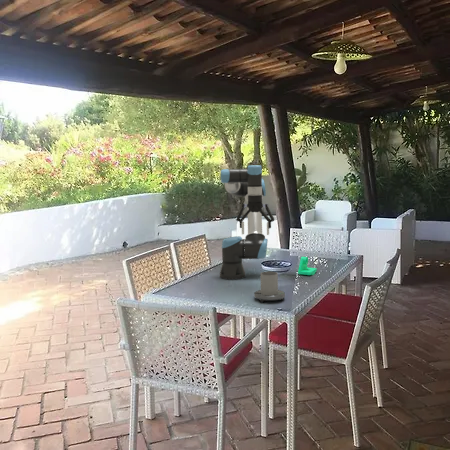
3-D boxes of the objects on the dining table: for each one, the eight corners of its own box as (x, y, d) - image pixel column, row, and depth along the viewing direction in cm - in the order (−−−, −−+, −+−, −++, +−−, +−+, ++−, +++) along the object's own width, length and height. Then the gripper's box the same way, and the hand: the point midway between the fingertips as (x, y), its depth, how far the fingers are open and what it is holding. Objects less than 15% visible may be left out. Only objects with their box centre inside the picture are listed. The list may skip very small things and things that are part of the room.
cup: (264, 296, 238) (263, 275, 237) (258, 291, 246) (258, 272, 245) (280, 294, 240) (280, 274, 239) (274, 290, 248) (273, 270, 247)
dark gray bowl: (251, 302, 238) (251, 296, 238) (257, 294, 253) (257, 288, 252) (282, 304, 234) (282, 298, 234) (286, 295, 249) (286, 289, 248)
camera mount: (310, 276, 287) (310, 259, 285) (298, 275, 291) (298, 258, 289) (317, 272, 297) (317, 255, 296) (305, 271, 301) (305, 254, 299)
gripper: (230, 195, 260) (231, 234, 263) (277, 195, 254) (277, 235, 257) (233, 194, 267) (234, 232, 270) (279, 194, 261) (279, 233, 264)
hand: (255, 234), depth 263 cm, fingers open, 13 cm apart
